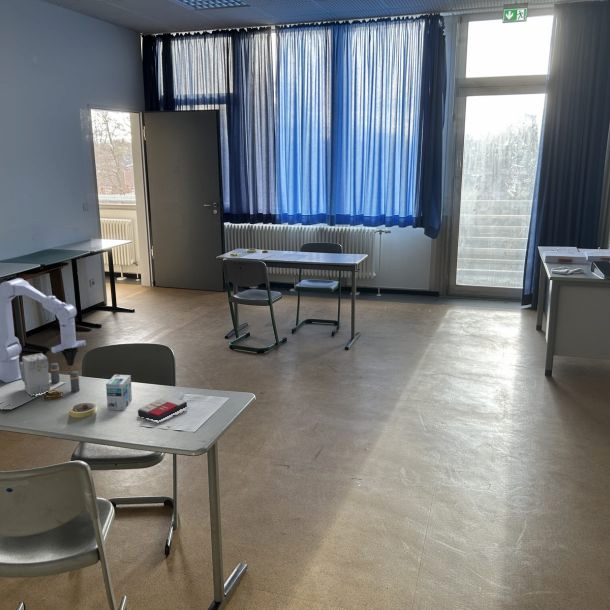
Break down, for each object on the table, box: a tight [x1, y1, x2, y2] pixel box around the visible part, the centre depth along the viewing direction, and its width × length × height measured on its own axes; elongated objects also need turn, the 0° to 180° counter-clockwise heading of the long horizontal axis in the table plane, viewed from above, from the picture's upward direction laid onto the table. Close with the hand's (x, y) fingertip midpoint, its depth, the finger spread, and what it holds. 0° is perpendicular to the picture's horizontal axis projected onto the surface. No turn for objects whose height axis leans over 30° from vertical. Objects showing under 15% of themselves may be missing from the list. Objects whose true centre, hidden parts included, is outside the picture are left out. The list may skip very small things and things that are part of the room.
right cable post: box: [69, 370, 80, 393], centre depth 248 cm, size 3×3×8 cm
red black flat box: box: [137, 395, 188, 421], centre depth 228 cm, size 11×4×15 cm
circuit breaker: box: [19, 352, 51, 396], centre depth 247 cm, size 8×14×15 cm, turn 40°
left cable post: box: [49, 362, 61, 384], centre depth 256 cm, size 3×3×8 cm
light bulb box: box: [105, 374, 133, 411], centre depth 234 cm, size 11×7×11 cm, turn 179°
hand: (70, 365), depth 253 cm, fingers closed
